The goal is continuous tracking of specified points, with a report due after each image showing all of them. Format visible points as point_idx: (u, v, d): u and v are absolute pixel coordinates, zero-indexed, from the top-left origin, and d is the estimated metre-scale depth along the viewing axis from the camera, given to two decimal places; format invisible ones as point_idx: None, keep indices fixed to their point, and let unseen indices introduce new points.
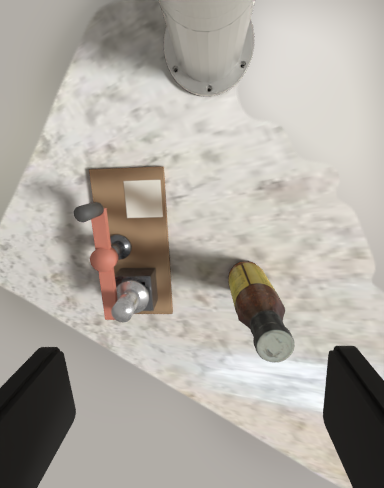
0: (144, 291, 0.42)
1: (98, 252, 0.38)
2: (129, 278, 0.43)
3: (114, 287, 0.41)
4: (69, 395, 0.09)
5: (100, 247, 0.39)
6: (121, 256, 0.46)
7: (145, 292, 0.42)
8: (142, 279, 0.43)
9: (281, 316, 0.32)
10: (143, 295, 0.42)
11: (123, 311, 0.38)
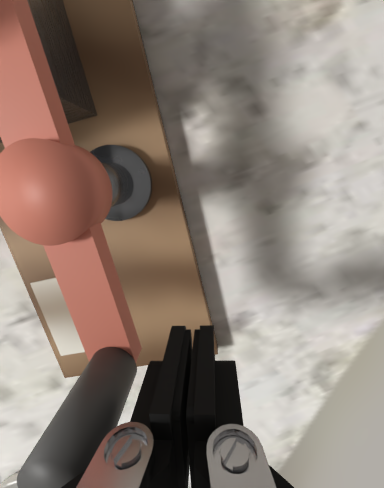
0: None
1: (65, 230, 0.09)
2: None
3: None
4: None
5: (72, 243, 0.10)
6: (98, 158, 0.15)
7: None
8: None
9: None
10: None
11: None
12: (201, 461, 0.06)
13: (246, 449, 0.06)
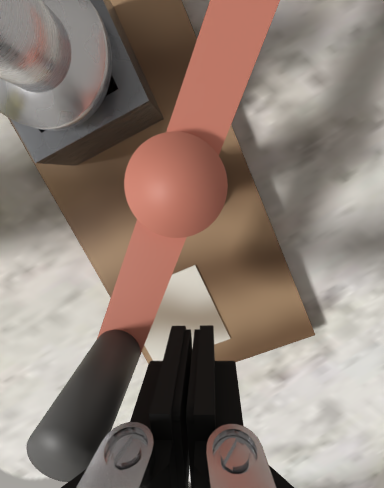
0: (2, 106, 0.11)
1: (172, 226, 0.10)
2: (92, 121, 0.12)
3: (198, 41, 0.09)
4: None
5: (164, 236, 0.10)
6: None
7: None
8: (53, 139, 0.12)
9: None
10: None
11: None
12: (201, 461, 0.06)
13: (246, 449, 0.06)
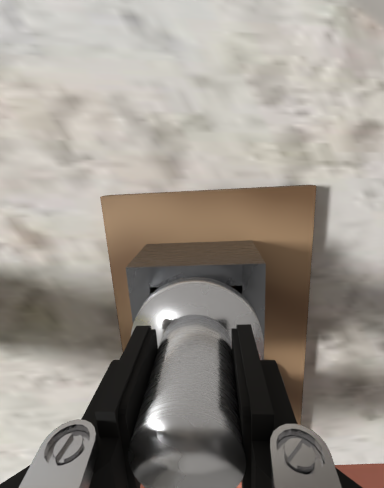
0: None
1: None
2: None
3: None
4: None
5: None
6: None
7: None
8: None
9: None
10: None
11: (174, 468, 0.07)
12: (262, 461, 0.06)
13: (312, 452, 0.06)
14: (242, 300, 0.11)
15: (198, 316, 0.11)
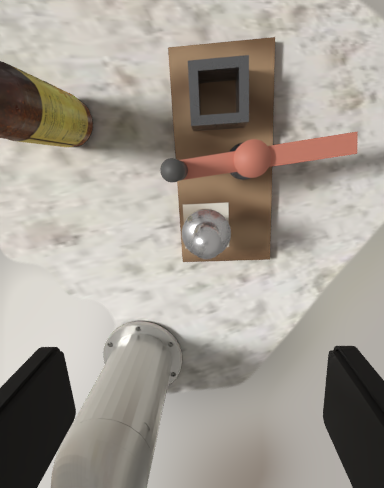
0: (186, 244, 0.31)
1: (239, 165, 0.26)
2: (223, 120, 0.28)
3: (298, 141, 0.26)
4: (69, 394, 0.09)
5: (233, 163, 0.27)
6: None
7: (185, 242, 0.31)
8: (203, 119, 0.28)
9: None
10: (187, 238, 0.30)
11: (203, 247, 0.26)
12: None
13: None
14: (223, 216, 0.30)
15: (207, 221, 0.30)
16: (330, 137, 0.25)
